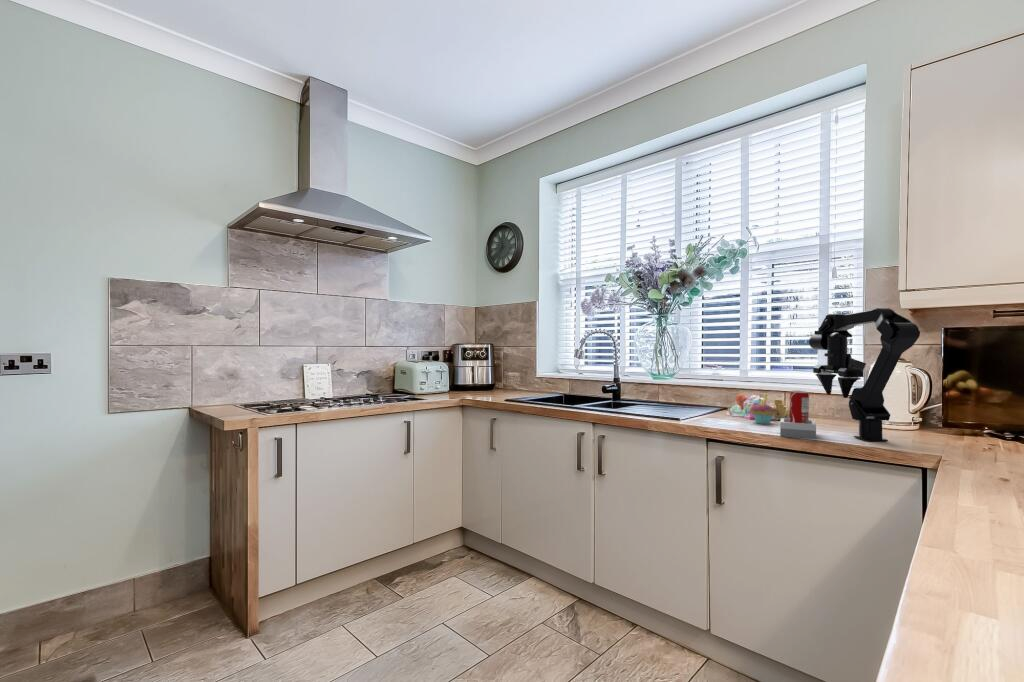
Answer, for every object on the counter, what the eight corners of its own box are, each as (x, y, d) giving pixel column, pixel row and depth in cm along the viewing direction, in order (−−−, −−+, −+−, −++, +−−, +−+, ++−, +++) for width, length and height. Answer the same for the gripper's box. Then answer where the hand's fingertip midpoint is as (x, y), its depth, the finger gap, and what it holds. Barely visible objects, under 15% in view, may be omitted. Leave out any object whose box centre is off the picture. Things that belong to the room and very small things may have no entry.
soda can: (787, 424, 168) (788, 389, 168) (806, 426, 166) (807, 390, 166) (790, 427, 163) (791, 390, 163) (809, 428, 161) (810, 391, 161)
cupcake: (780, 423, 187) (780, 392, 187) (763, 425, 184) (763, 392, 184) (761, 420, 195) (761, 390, 195) (744, 422, 192) (744, 390, 192)
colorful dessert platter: (793, 415, 211) (793, 394, 211) (791, 423, 191) (791, 399, 191) (730, 411, 224) (729, 391, 224) (721, 418, 203) (721, 395, 204)
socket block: (814, 433, 166) (814, 420, 166) (816, 438, 157) (816, 424, 158) (781, 431, 171) (780, 418, 171) (780, 435, 162) (780, 422, 162)
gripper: (880, 351, 160) (880, 399, 160) (844, 349, 179) (843, 392, 179) (845, 351, 160) (845, 399, 161) (812, 349, 179) (812, 392, 179)
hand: (837, 396), depth 170 cm, fingers open, 9 cm apart
